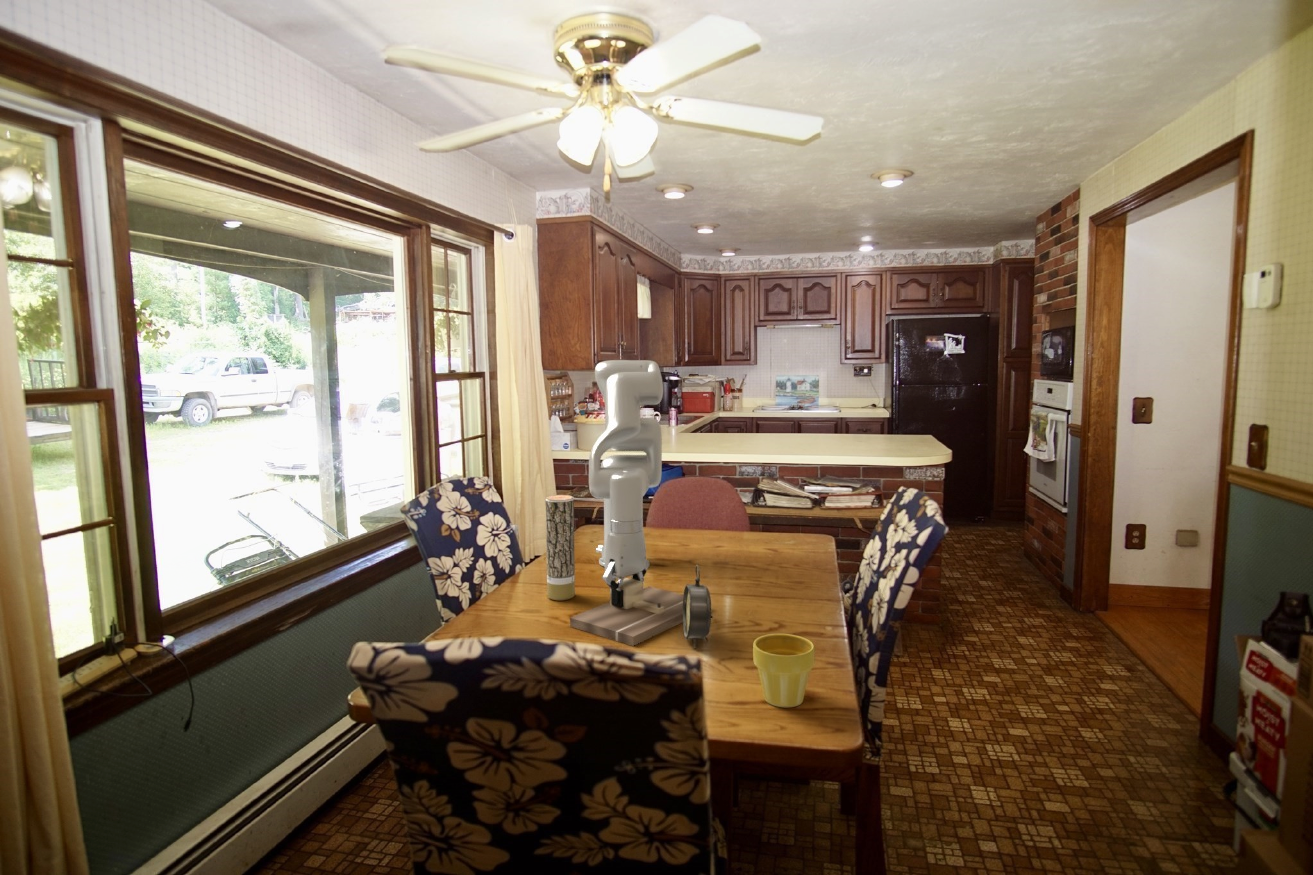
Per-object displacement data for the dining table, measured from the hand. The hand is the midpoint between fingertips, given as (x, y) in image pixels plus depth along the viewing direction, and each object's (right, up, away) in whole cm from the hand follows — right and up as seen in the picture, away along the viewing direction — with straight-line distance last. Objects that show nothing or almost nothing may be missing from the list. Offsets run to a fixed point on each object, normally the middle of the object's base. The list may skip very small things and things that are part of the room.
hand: (626, 601), depth 164 cm
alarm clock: (+15, -4, -17) cm, 24 cm away
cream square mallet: (+3, -1, -2) cm, 4 cm away
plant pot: (+29, -7, -43) cm, 52 cm away
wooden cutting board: (+4, -3, -3) cm, 6 cm away
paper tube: (-17, -2, +11) cm, 20 cm away
